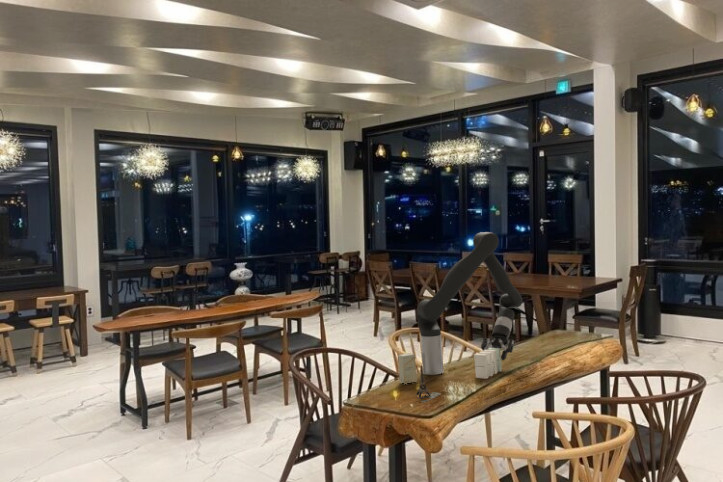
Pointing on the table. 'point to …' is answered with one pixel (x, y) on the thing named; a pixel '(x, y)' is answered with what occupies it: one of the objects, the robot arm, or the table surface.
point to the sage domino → (498, 357)
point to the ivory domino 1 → (481, 366)
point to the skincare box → (407, 368)
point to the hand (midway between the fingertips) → (493, 358)
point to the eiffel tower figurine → (425, 390)
